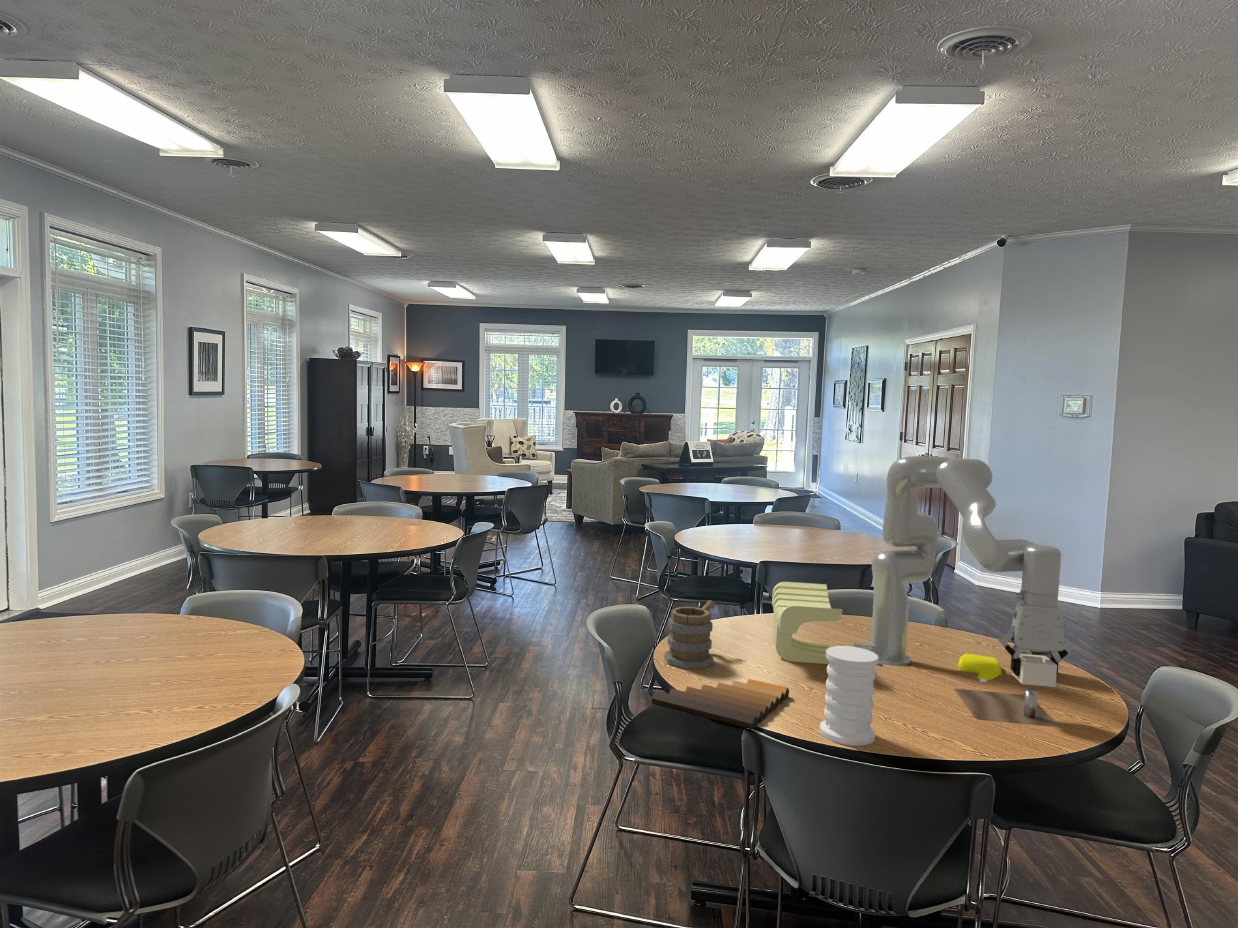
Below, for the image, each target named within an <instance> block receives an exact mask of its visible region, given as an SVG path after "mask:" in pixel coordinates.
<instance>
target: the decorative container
mask: <svg viewBox="0 0 1238 928" xmlns="http://www.w3.org/2000/svg"><path fill="white" fill-rule="evenodd" d="M826 658H827V659H828V660H829V664H827V666H826V673H827V679H826V681H825V686H826V690H827V691H826V693H825V695H824V696H825V697H824V700H825V704H826V705H825V707H824V710H823V713H824V718H825V720H822V721H821V722H820V724H819V734H820V735H821V736H822V737H824V738H825V739H826V740H828V741H831V742H832V743H833V742H834V743H837V744H839V745H844V746H851V747H862V746H867V745H871V744H873V743H874V742H875V739H876V732H875V730H874V728H872V727H871V725H872V722H873V714H872V710H873V708H874V706H875V705H874V703H875V702H874V700H873V695H874V693H875V685H874V681H875V679H876V676H877V675H876V671H875V667H876V666H878V665H879V664H878V655H877V654H875V653H874V652H872V651H869V650H866V649H862V648H858V647H853V646H851V645H850V646H849V645H848V646H847V645H836V646H835V645H834V646H830V647H829V648H828V649H827V650H826Z"/></svg>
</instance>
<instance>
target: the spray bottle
mask: <svg viewBox="0 0 1238 928" xmlns="http://www.w3.org/2000/svg"><path fill="white" fill-rule="evenodd" d="M957 666H958V670H959V671H960V672H962V673H963V672H966V673H976V674H978V676H977V677H976V679H979V682H981V683H982V682H983V683H987V682H988V681H990V680H994V679H996V678H997V677H998V676H999V675H1000V676H1002V667H1001V665H1000V662H999V660H997V658H996V657H993V656H985V655H979V654H973V653H964V654H963V655H962V656H960V657H959V661H958V664H957Z"/></svg>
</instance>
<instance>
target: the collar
mask: <svg viewBox="0 0 1238 928" xmlns="http://www.w3.org/2000/svg"><path fill="white" fill-rule="evenodd" d="M1019 659H1020V660H1021V663H1020V675H1019V676H1016V675H1015V674H1014V673H1013V672H1012V671H1011V675H1012V676H1013V677H1014V678H1015V679H1016V680H1017V681H1018V682H1019V683H1021V684H1022V685H1028V686H1038V687H1039V686H1040V687H1048V688H1049V687H1052V688H1056V686H1057V675H1058V674H1057V665H1056V664H1055V663H1054V662H1052V661H1051V660H1050V659H1049V658H1047V657H1046V656H1040V655H1028V654H1022V653H1021V655H1020V656H1019ZM1056 674H1057V675H1056Z"/></svg>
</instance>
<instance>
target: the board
mask: <svg viewBox="0 0 1238 928" xmlns="http://www.w3.org/2000/svg"><path fill="white" fill-rule="evenodd" d="M953 689H954V691H955V693H956V694H957V695H958V697H959V698H960V700H961V701H962V702H963V704H964V705H965V706H966V708H967V709H968V710H969V711H970V713H971V714H972V715H973V717H974V718H975V720H980V721H981V720H982V721H991V722H993V721H994V722H1000V723H1001V722H1003V723H1009V724H1010V723H1012V724H1021V725H1032V726H1033V725H1034V726H1043V727H1051V728H1052V727H1053V728H1061V725H1060V724H1059V723H1058V722H1057V721H1056V720H1055V719H1054V718H1053V717H1052V716H1051V715H1050V714H1049V713H1048V712H1047V711H1045V709H1044V708H1043V707H1042V706H1041V705H1040V704H1039V703H1038V702H1037V703H1036V715H1035V718H1027V717H1025V716H1024V704H1025V694H1019V693H1018V694H1017V693H1006V692H996V691H986V690H985V691H984V690H975V689H965V688H953Z"/></svg>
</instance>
